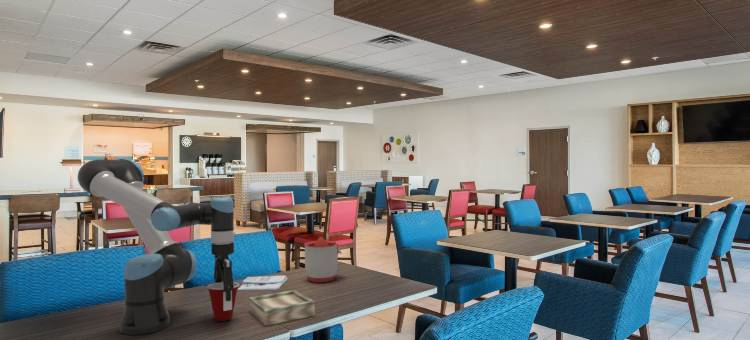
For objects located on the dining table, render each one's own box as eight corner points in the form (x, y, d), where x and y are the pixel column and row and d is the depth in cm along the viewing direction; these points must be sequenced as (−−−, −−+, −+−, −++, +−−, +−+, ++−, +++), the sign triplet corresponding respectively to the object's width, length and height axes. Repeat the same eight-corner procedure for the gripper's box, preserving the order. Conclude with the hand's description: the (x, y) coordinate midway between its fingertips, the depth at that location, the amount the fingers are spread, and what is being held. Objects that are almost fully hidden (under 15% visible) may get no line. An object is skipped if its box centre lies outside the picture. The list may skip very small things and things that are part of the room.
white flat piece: (288, 279, 215) (288, 274, 215) (278, 291, 195) (278, 286, 195) (248, 279, 216) (248, 275, 216) (233, 291, 196) (233, 286, 195)
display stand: (265, 325, 153) (265, 311, 153) (249, 311, 168) (249, 297, 168) (314, 315, 162) (314, 301, 162) (295, 302, 178) (295, 289, 178)
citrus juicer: (345, 282, 206) (344, 238, 206) (306, 285, 202) (306, 240, 201) (338, 274, 221) (338, 233, 221) (302, 277, 217) (302, 235, 216)
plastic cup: (244, 313, 164) (244, 280, 164) (232, 324, 154) (232, 288, 153) (215, 312, 165) (215, 279, 165) (201, 323, 155) (201, 287, 154)
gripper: (243, 246, 151) (243, 312, 152) (225, 236, 171) (226, 295, 171) (219, 249, 147) (220, 317, 148) (204, 238, 167) (205, 298, 167)
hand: (223, 305), depth 159 cm, fingers closed on plastic cup, 11 cm apart
